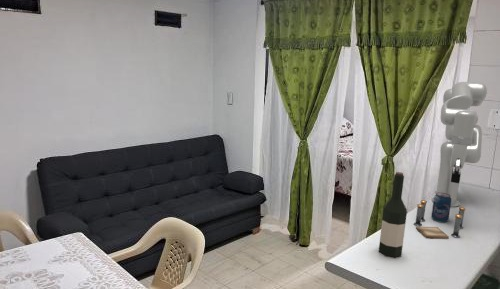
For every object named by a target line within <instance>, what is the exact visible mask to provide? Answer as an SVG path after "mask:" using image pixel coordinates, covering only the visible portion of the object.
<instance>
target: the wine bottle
mask: <svg viewBox="0 0 500 289" xmlns="http://www.w3.org/2000/svg"><path fill="white" fill-rule="evenodd" d="M404 180H405V174H404V172H400V171H396V172H395V174H394V177H393V184H392V193H391V197H389V199H388V201H387V202H386V203H385V204H384V205H383V210H382V217H381V218H382V220H381V229H380V237H379V246H378V253H379V254H380V255H383V256H384V257H385V258H392V259H396V258H401V257H402V256H403V255H402V254H403V245H404V238H405V229H406V223H407V215H408V209H407V207H406V205H405V203H404V201H403V199H402V197H403V189H404Z"/></svg>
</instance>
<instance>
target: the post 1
mask: <svg viewBox="0 0 500 289" xmlns="http://www.w3.org/2000/svg"><path fill="white" fill-rule="evenodd" d="M416 206H417V209H416V216H415V222H414V223H413V225H414V226H415V227H423V226H422V222H421V216H422V209H423V205H421V203H418V204H417V205H416Z"/></svg>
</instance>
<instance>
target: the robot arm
mask: <svg viewBox="0 0 500 289" xmlns="http://www.w3.org/2000/svg"><path fill="white" fill-rule="evenodd" d="M487 89H488V88H487V85H486V84H485V83H483V82H478V81H477V82H476V81H475V82H474V81H460V82H457V83H455V84H453V85H452V88H448V89H447V90H445V91H444V93H443V99H442V102H443V104H442V106H441V109H440V122H441V123H442V125H443V126H445V130H444V133H445V139H446V140H448V141H444V142H442V144H441V146H440V149H439V150H440V151H439V152H440V162H439V164H440V165H439V172H438V178H437V179H438V180H437V185H436V190H435V191H434V194H436V193H446V194H449V195H450V197H451V206H450V208H453V207H454V208H455V207H460V204H461V203H460V201H459V200H458V193H459V188H460V181H461V175H462V169H463V168H464V165H465V163H469V164H476V163H479V161H481V157H482V139H483V133H482V132H483V130H482V127H481V126H480V125H478V124H477V123H478V121H479V114H478V112H476V111H475V110H473V109H469V108H471V107H480V106H481V104H482V103H483V102H484V101H485V99H486V97H487V94H488V92H487V91H488V90H487ZM431 201H432V202H434V196H433V197H432V198H431Z"/></svg>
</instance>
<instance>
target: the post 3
mask: <svg viewBox="0 0 500 289" xmlns="http://www.w3.org/2000/svg"><path fill="white" fill-rule="evenodd" d="M454 217H455V218H454V223H453V231H452V232H453V233H451V234H450V236H451V237H453V238H454V239H455V238H456V239H460V237H461V235H459V234H460V230H461V229H460V222H461V218H462V215H459V213H456V214H455V216H454Z"/></svg>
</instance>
